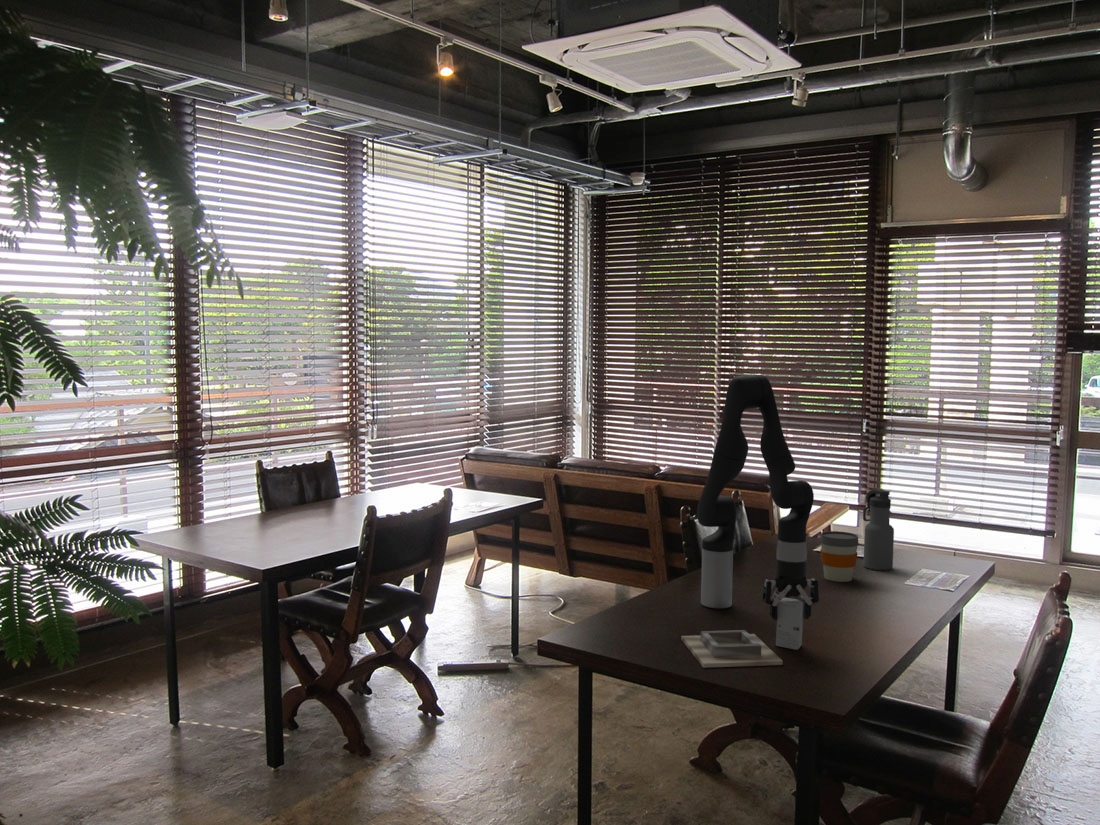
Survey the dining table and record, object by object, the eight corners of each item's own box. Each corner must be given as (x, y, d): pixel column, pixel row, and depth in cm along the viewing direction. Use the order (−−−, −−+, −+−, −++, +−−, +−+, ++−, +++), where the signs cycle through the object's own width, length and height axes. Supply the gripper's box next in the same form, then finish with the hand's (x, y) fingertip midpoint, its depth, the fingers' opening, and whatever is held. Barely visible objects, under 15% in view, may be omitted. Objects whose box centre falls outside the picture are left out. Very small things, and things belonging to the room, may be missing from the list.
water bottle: (856, 565, 304) (859, 489, 302) (876, 562, 308) (879, 487, 306) (878, 572, 295) (881, 493, 293) (898, 569, 299) (901, 491, 297)
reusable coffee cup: (862, 583, 280) (864, 539, 279) (825, 583, 280) (826, 538, 279) (850, 573, 292) (851, 531, 291) (814, 573, 293) (815, 530, 292)
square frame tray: (681, 639, 223) (681, 626, 223) (753, 637, 225) (754, 624, 225) (703, 667, 203) (703, 653, 203) (782, 664, 205) (782, 650, 205)
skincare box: (775, 646, 218) (776, 600, 218) (779, 641, 222) (780, 596, 222) (799, 650, 216) (800, 604, 215) (803, 645, 219) (804, 599, 219)
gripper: (811, 553, 222) (810, 614, 223) (759, 554, 220) (758, 615, 221) (824, 560, 214) (822, 622, 215) (770, 561, 213) (768, 624, 214)
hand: (790, 618), depth 218 cm, fingers open, 8 cm apart
